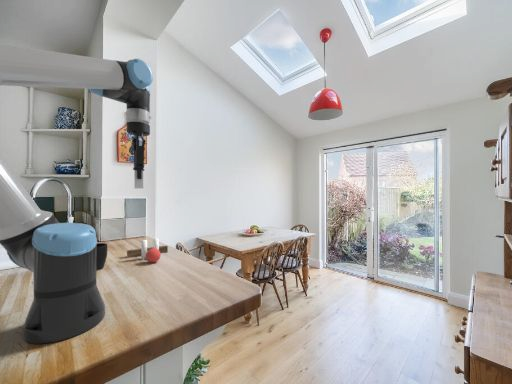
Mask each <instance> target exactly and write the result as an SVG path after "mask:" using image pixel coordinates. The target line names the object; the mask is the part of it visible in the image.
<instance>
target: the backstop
mask: <svg viewBox="0 0 512 384" xmlns="http://www.w3.org/2000/svg"><path fill="white" fill-rule="evenodd" d="M150 249H153V246H152V247H147V251H149V250H150ZM168 249H169V248H168V245H159V251H160V253H161V254H165V253H168ZM135 257H142V252H141V248H136V249H129V250H128V249H127V250H126V258H127V259H129V258H135Z"/></svg>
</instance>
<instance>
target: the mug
mask: <svg viewBox="0 0 512 384" xmlns="http://www.w3.org/2000/svg"><path fill="white" fill-rule="evenodd" d="M107 256H108V243H106V242H97V245H96V272H97V271H99V270H103V269H104V268H105V263H106V262H107Z"/></svg>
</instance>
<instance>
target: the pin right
mask: <svg viewBox="0 0 512 384" xmlns="http://www.w3.org/2000/svg"><path fill="white" fill-rule="evenodd" d="M159 246H160V239H159V238H153V239H152V247H153V248H155V249H158V250H159Z"/></svg>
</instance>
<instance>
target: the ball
mask: <svg viewBox="0 0 512 384" xmlns="http://www.w3.org/2000/svg"><path fill="white" fill-rule="evenodd" d="M161 256H162V253H160V251H159V250H158V249H155V248H153V249H150V250H149V251H148V252H147V253H146V259H145V260H146V261H147V262H149V263H156V262H158V261H159V260H160V259H161Z"/></svg>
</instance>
